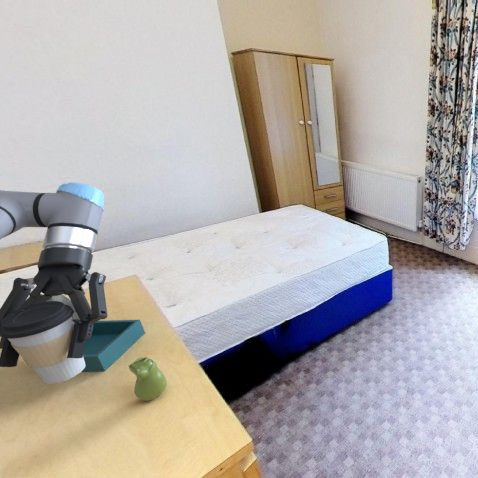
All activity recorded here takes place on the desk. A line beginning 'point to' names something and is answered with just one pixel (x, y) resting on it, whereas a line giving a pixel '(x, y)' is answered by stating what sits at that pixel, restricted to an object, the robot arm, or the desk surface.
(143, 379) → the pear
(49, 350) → the coffee cup
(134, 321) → the tray
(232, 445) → the desk surface
